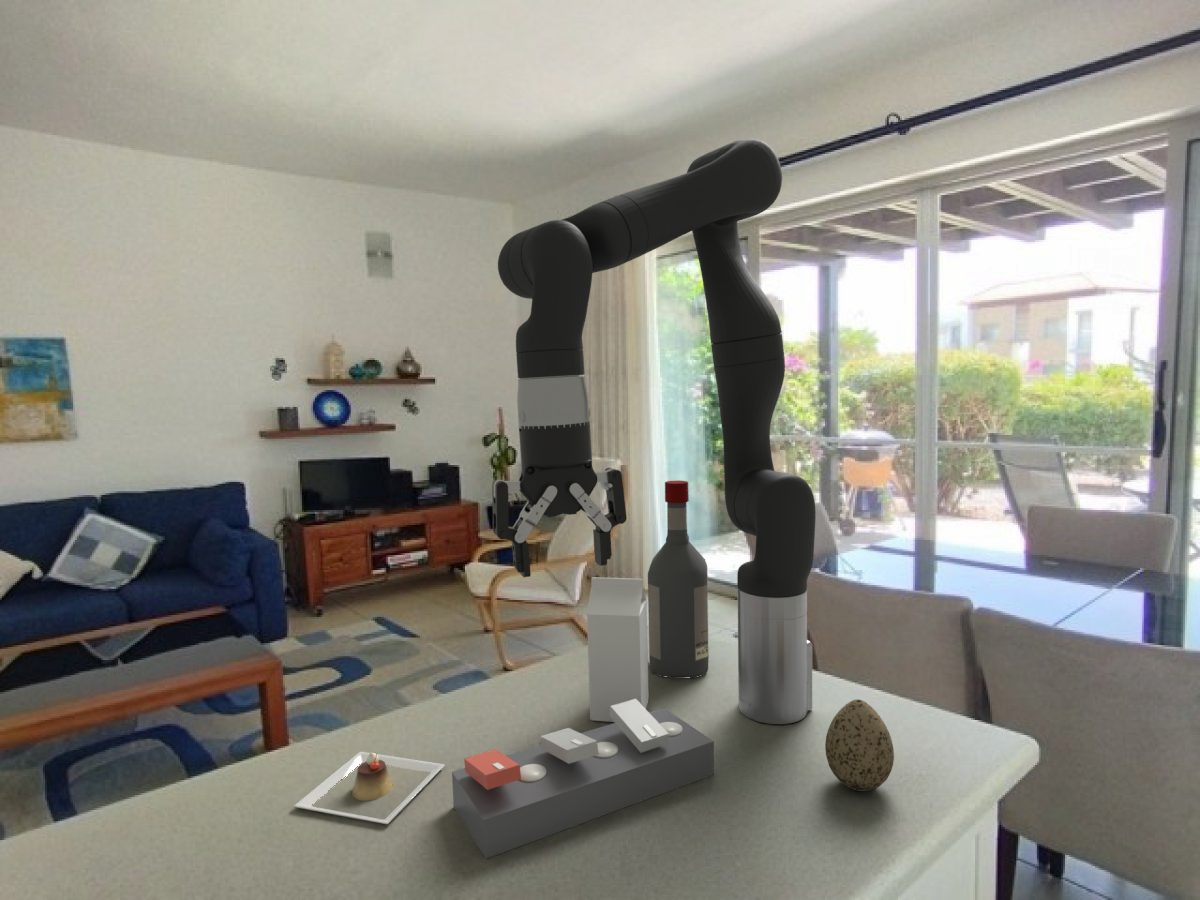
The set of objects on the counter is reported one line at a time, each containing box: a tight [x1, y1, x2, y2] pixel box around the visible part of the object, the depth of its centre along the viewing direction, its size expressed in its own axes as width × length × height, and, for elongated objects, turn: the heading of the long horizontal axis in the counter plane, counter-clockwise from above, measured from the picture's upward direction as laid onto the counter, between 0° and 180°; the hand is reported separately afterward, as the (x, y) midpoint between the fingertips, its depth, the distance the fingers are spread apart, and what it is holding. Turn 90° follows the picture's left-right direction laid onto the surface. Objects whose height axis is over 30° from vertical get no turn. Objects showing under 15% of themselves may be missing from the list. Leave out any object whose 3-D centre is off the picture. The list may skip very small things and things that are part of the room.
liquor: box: [647, 480, 710, 679], centre depth 112 cm, size 9×9×30 cm
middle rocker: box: [539, 727, 599, 764], centre depth 78 cm, size 4×7×2 cm, turn 30°
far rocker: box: [610, 699, 669, 753], centre depth 82 cm, size 4×7×2 cm, turn 30°
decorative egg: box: [824, 699, 895, 792], centre depth 78 cm, size 7×7×10 cm
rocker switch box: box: [451, 707, 715, 860], centre depth 79 cm, size 28×10×4 cm, turn 120°
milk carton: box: [586, 576, 650, 723], centre depth 97 cm, size 7×7×19 cm
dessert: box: [293, 751, 446, 825], centre depth 81 cm, size 12×12×5 cm
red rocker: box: [463, 748, 521, 790], centre depth 73 cm, size 4×7×2 cm, turn 30°
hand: (563, 569), depth 76 cm, fingers open, 8 cm apart
